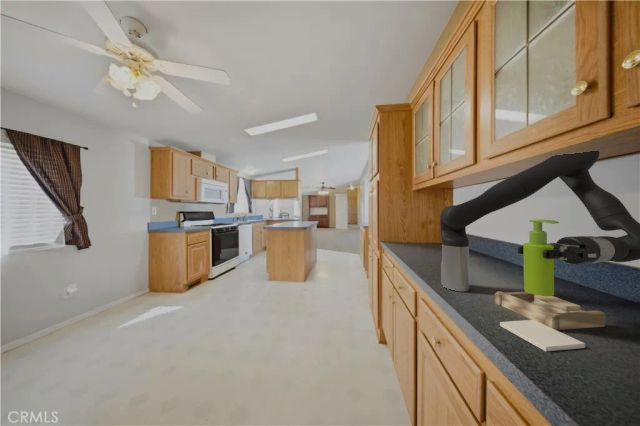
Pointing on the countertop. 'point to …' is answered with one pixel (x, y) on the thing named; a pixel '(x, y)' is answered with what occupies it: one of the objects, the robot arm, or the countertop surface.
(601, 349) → the countertop surface
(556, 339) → the cream tile
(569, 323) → the pine rack
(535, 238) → the soap dispenser
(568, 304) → the offcut stack
